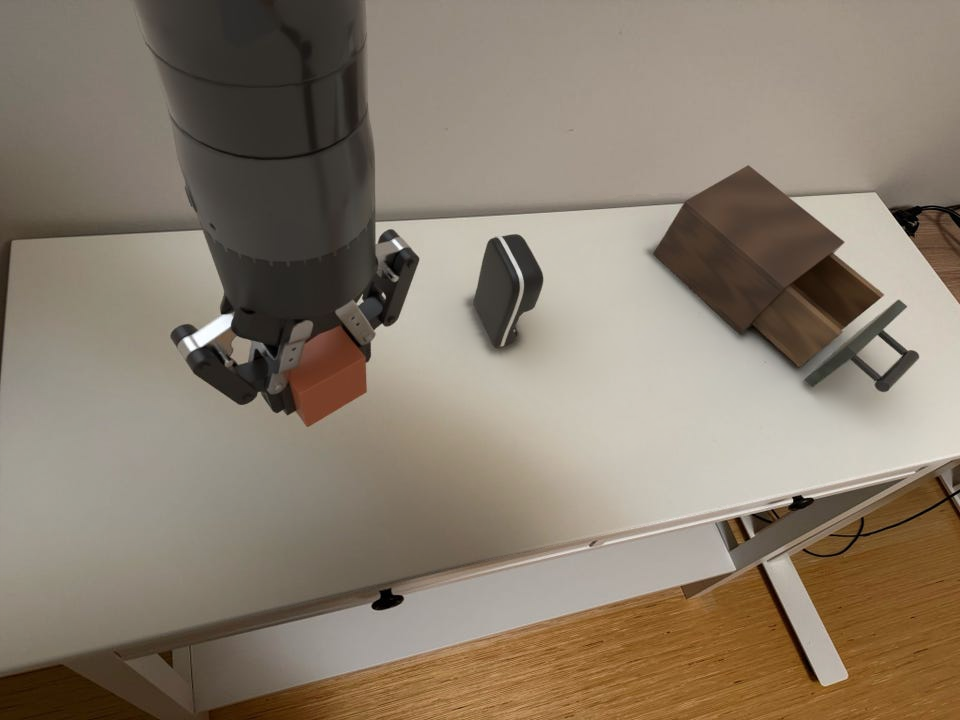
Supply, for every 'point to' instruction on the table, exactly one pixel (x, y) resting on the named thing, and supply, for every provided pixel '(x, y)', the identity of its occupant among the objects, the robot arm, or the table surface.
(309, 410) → the block
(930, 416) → the table surface
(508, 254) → the battery charger
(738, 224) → the cabinet
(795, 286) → the drawer
